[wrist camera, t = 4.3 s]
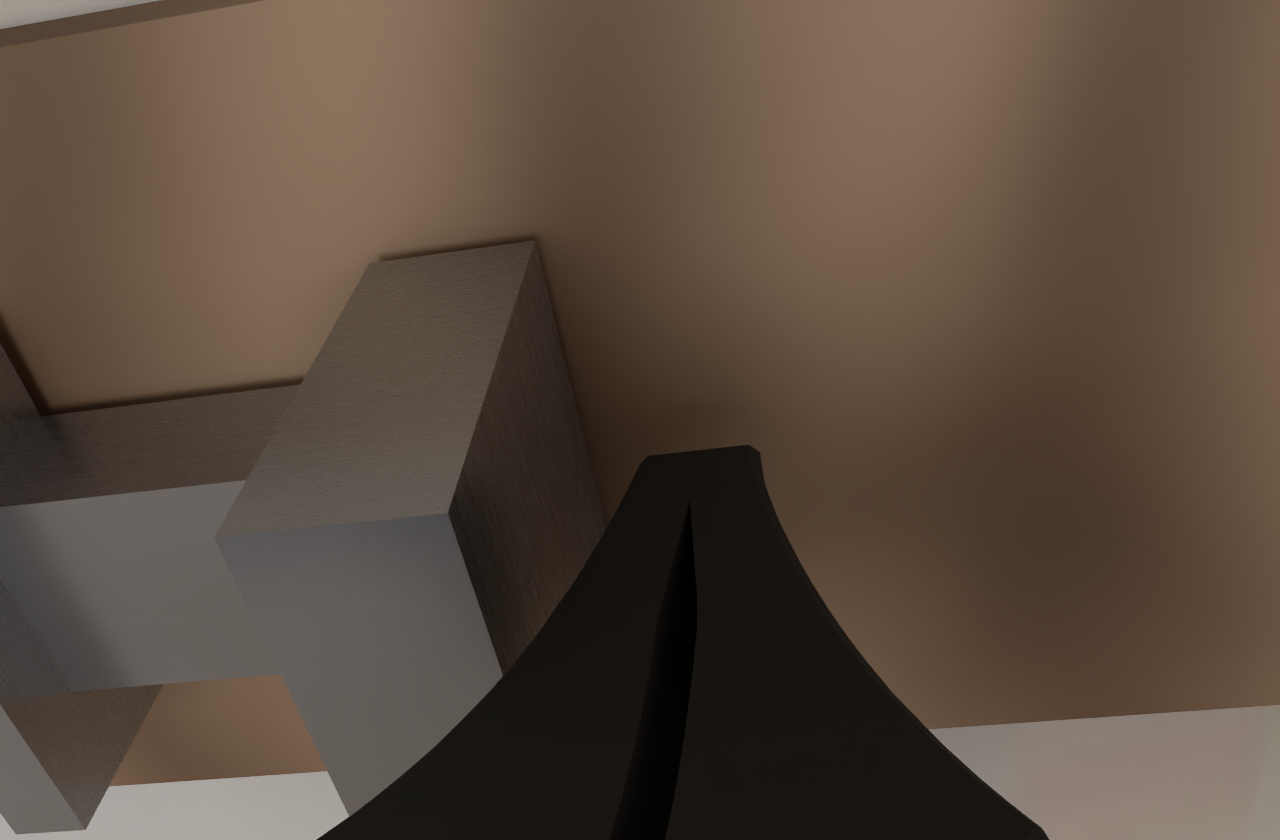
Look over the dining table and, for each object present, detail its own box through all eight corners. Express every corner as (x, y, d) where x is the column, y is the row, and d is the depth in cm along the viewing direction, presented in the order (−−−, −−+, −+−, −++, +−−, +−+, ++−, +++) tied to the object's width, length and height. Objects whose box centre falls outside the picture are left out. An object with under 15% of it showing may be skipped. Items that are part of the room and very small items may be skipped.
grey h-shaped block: (535, 240, 13) (447, 511, 9) (630, 622, 17) (596, 950, 13) (-87, 326, 15) (-408, 601, 11) (114, 666, 18) (-70, 979, 14)
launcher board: (1691, -275, 11) (1767, -266, 10) (1444, 641, 18) (1479, 690, 17) (-379, 97, 15) (-446, 126, 14) (52, 746, 21) (25, 792, 20)
